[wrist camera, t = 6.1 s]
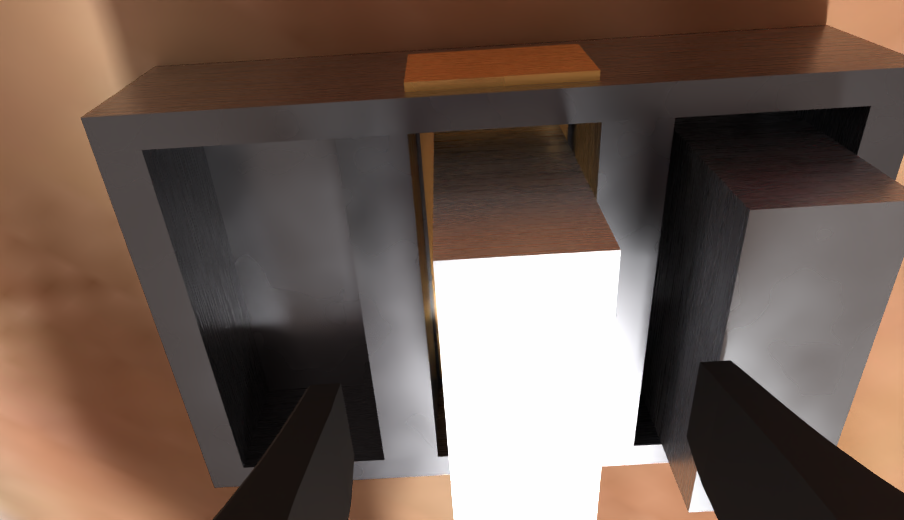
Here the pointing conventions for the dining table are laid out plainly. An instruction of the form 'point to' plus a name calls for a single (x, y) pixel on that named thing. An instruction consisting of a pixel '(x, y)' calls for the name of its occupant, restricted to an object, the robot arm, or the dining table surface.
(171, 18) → the dining table surface
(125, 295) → the dining table surface
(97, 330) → the dining table surface
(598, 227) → the block
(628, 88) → the rack
